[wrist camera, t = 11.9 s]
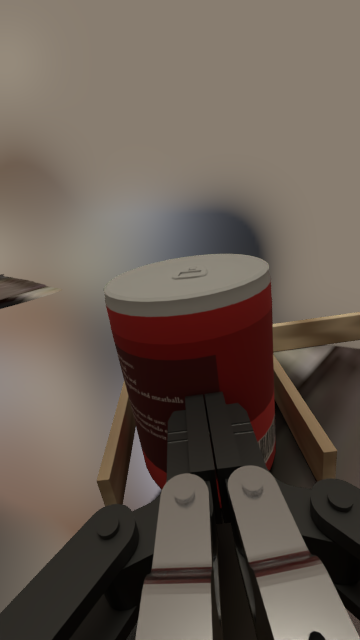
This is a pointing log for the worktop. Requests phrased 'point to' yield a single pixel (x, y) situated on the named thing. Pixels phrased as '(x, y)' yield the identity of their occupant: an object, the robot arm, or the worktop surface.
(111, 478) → the bay rack
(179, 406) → the canned food
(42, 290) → the worktop surface
